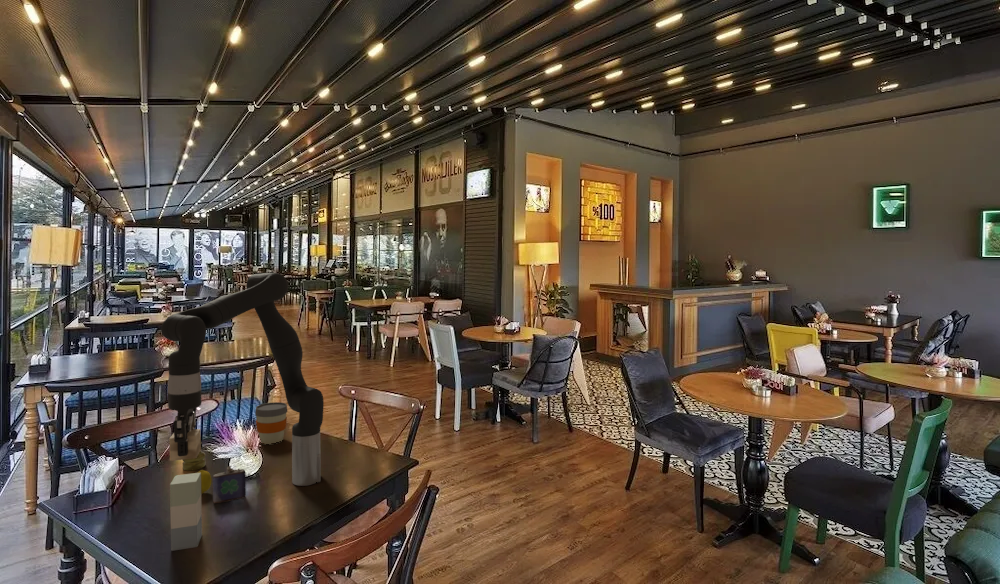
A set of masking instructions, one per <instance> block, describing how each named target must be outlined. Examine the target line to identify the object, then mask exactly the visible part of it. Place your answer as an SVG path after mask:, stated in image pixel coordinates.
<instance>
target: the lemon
mask: <svg viewBox="0 0 1000 584" xmlns="http://www.w3.org/2000/svg"><path fill="white" fill-rule="evenodd" d="M196 473H201V495H203V494H204V493H205V492H207V491H209V489H210V488H211V486H212V483H213V477H212V475H211V473H210V472H209V471H207V470H204V469H201V470H199V471H198V472H196Z"/></svg>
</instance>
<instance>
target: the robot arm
mask: <svg viewBox="0 0 1000 584" xmlns="http://www.w3.org/2000/svg"><path fill="white" fill-rule="evenodd" d="M288 290H289V283H288V280H287V279H286V277H285V276H284V275H282V274H281V273H278V272H265V273H255V274H252V275H250V276H249V277H248V278H247V280H246V289H243V290H239V291H237V292H234V293H230V294H227V295H226V294H225V295H223V296H220V297H218V298H215V299H213V300H212V301H209V302H207V303H205V304H203V305H201V306H198V307H194V308H190V309H185V310H183V311H179V312H176V313H174V314H172V315H170V316H168V317H167V318H166V319H165V320H164V321H163V322H162V324H161V328H160V332H161V334H162V336H163V337H164V338H165V339H166V340H169V341H173V342H179V343H180V345H179V348H178V350H174V351H173V352H171V353H170V354H169V355H168V381H167V399H168V401H167V403H168V404H167V405H168V406H167V407H168V409H169V410H171V411H176V412H177V414H176V415H175V417H174V420H173V433H174V441H175V443H176V442H177V443H178V456H186V455H187V454H188V434H189V433H190V432H191V430H193V429H196V427H197V424H196V423H197V408H199V407H200V406H201V405H202V378H201V377H202V375H201V363H200V358H201V354H202V350H203V346H204V343H205V341H206V335H207V330H208V329H209V330H211V329H214V328H217V327H219V326H221V325H222V324H224V323H227V322H229V321H230V320H232V319H234V318H236V317H238V316H240V315H242V314H244V313H246V312H248V311H251V310H253V309H254V310H255V312H256V314H257V317H258V318H259V321H260V323H261V326H262V329H263V331H264V334H265V336H266V338H267V342H268V345H269V346H268V347H269V349H270V351H271V354H272V356H273V359H274V361H275V364H276V366H277V367H276V368H277V370H278V373H279V375H280V378H281V381H282V385H283V389H284V393H285V398H286V402H287V404H288V405H287V406H288V407H289V408H290V409H291V410H292V411H294V412H296V413H298V414H299V415H298V422H296V423H294V424H293V425H292V428H291V449H292V450H291V454H292V455H291V466H292V467H291V474H292V475H291V482H292V483H291V484H293V485H295V486H299V487H301V486H302V487H304V486H305V487H307V486H312V485H315V484H316V482H317V483H321V427H322V426H323V425H322V424H323V422H324V421H323V420H324V419H323V418H324V406H325V405H324V404H325V403H324V396H323V393H322V391H321V390H320V389H317V388H314V387H312V386H308V385H307V383H306V381H305V378H304V375H303V372H302V362H303V347H302V344H301V341H300V337H299V335H298V333H297V331H296V330H295V328H294V327H293V326H292V325H291V324H290V322H288V321H287V319H285V318H284V317H283V316H282V315H281V313H280V312H279V310H278V309H277V306H276V304H275V302H277V301H279V300H282V299H283V298H284V297H286V295H287V294H288ZM180 434H183V437H180Z"/></svg>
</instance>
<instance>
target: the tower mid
mask: <svg viewBox="0 0 1000 584" xmlns="http://www.w3.org/2000/svg"><path fill="white" fill-rule="evenodd" d="M169 508H170V530H171V529H174V528H181V527H188V526H195V525H197V524H198V522H199V519H200V517H201V515H202V516H203V514H202V513H203V511H202V510H203V509H202V494H201V495H200V497H199V499H198V502H197V503H196V504H188V505H181V506H173V507H169Z"/></svg>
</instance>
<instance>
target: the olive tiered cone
mask: <svg viewBox="0 0 1000 584" xmlns="http://www.w3.org/2000/svg"><path fill="white" fill-rule="evenodd" d="M202 444H203V442H202V441H201V445H202ZM206 457H207V454H206V453H205V452H204V451H202V450H201V451H200V452H199V454H198V456H197V458H193V459H184V460H182V464H181V465H182V469H183V470H184V471H187V472H189V471H190V472H192V471H197V470H200V469H201V470H202V469H203V468H204V467H205V466H206V463H207V462H206Z"/></svg>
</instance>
